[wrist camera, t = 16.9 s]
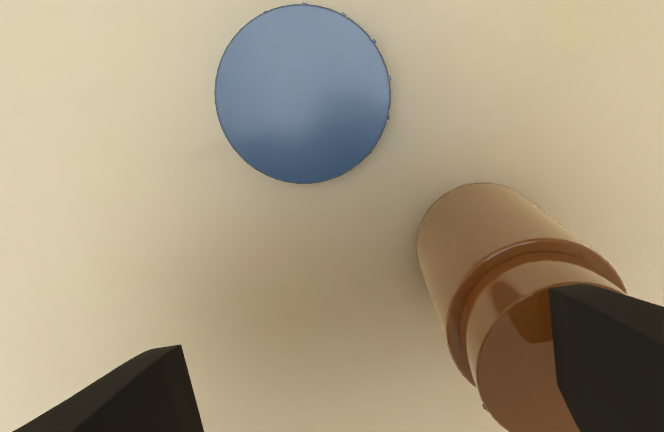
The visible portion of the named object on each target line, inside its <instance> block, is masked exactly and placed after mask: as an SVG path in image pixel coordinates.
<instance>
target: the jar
mask: <svg viewBox="0 0 664 432" xmlns="http://www.w3.org/2000/svg"><path fill="white" fill-rule="evenodd" d="M416 250H417V258H418V263H419V266H420V268H421V271H422V274H423V277H424V280H425V283H426V286H427V288H428V291H429V294H430V297H431V300H432V303H433V306H434V309H435V311H436V314H437V317H438V320H439V323H440V326H441V329H442V331H443V334H444V337H445V340H446V343H447V346H448V349H449V351H450V354H451V357H452V359H453V361H454V363H455V365H456V366H457V368H458V369H459V371H460V372H461V373H462V375H463V376H464V377H465V378H466V379H467V380H468V381H469V382H470V383H471V384H472V385H473V386H475V387H476V388H477V389H478V392H479V394H480V397H481V399H482V401H483V404H482V405H483V407H484V409H485V410H487V411H488V412H489V413H490V414H491V416H492V417H493V418H494V419H495V420H496V421H497V422H498V423H499V424H500V425H501V426H502V427H504V428H505V429H506V430H508V431H509V432H580V430H579V429H578V427H577V425H576V423H575V421H574V419H573V417H572V415H571V413H570V411H569V409H568V407H567V405H566V403H565V401H564V398H563V396H562V394H561V392H560V390H559V388H558V385H557V379H556V368H555V357H554V346H553V335H552V325H551V314H550V303H549V292H548V288H554V287H561V286H567V285H574V284H580V283H582V284H589V285H593V286H597V287H601V288H604V289H608V290H611V291H614V292H618V293H621V294H624V295H627V292H626V289H625V286H624V284H623V282H622V280H621V278H620V277H619V275H618V274H617V272H616V270H615V269H614V268H613V267H612V266H611V265H610V264H609V262H608V261H606V260H605V259H604V258H603V257H602V256H600V255H599V254H598V253H597V252H595V251H594V250H593V249H592V248H590V247H589V246H588V245H586V244H585V243H584V242H582V241H581V240H580V239H578V238H577V237H576V236H575V235H573V234H572V233H571V232H569V231H568V230H567V229H565V228H564V227H563V226H561V225H560V224H559V223H558V222H556V221H555V220H554V219H552V218H551V217H550V216H548V215H547V214H546V213H544V212H543V211H542V210H541V209H539V208H538V207H537V206H535V205H534V204H533V203H531V202H530V201H529V200H527V199H526V198H525V197H524V196H522V195H521V194H519V193H518V192H516V191H514V190H512V189H510V188H508V187H505V186H502V185H498V184H492V183H476V184H470V185H465V186H462V187H460V188H457V189H455V190H453V191H451V192H449V193H447V194H446V195H444V196H443V197H441V198H440V199H439V200H438V201H437V202H436V203H435V204H434V205H433V206H432V207H431V208H430V209H429V211H428V212H427V214H426V215H425V217H424V219H423V221H422V223H421V225H420V228H419V231H418V236H417V244H416ZM627 296H628V295H627Z"/></svg>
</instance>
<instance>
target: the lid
mask: <svg viewBox="0 0 664 432" xmlns="http://www.w3.org/2000/svg"><path fill="white" fill-rule="evenodd" d="M375 43H376V41H375V40H374V39H373V40H372V39H371V38H370V37H369V35H368V34H367V33H366V32H365V31H364V30H363V29H362V28H361V27H360V26H358V25H357V24H356V23H355V22H353V21H352V20H351V19H349V18H347V17H346V14H344V13H342V14H341V13H338V12H336V11H334V10H331V9H328V8H325V7H321V6H316V5H308V4H307V3H303V4H294V5H287V6H282V7H278V8H275V9H271V10H269V11H265V12H263V14H260V15H259V16H257V17H256V18H254V19H253V20H251V21H250V22H249V23H247V24H246V25H245V26H244V27H243V28H241V30H240V31H239V32H238V33H237V34H236V35H235V36H234V37H233V39H232V40H231V42H230V43H229V45H228V46H227V48H226V50H225V52H224V54H223V56H222V58H221V61H220V64H219V67H218V71H217V75H216V80H215V105H216V110H217V115H218V118H219V122H220V125H221V127H222V129H223V132H224V134H225V136H226V138H227V139H228V141H229V142H230V144H231V146H232V147H233V148H234V150H235V151H236V152H237V153H238V154H239V156H241V157H242V158H243V159H244V160H245V161H246V162H247V163H248V164H249V165H251V166H252V167H253V168H255V169H256V170H258V171H260V172H261V173H263V174H265V175H267V176H269V177H272V178H274V179H277V180H281V181H285V182H290V183H297V184H310V183H318V182H323V181H327V180H331V179H333V178H336V177H338V176H341V175H343V174H344V173H346V172H348V171H350V170H351V169H353V168H354V167H355V166H357V165H358V164H359V163H360V162H361V161H362V160H363V159H364V158H365V157H367V156H368V154H370V153H371V151H372V149H373V148H374V147H375V145H376V144H377V142H378V140H379V139H380V137H381V135H382V132H383V130H384V128H385V125H386V122H387V120H389V116H388V115H389V108H390V92H391V91H390V82H389V80H391V77H390V76H388V72H387V68H386V65H385V63H384V60H383V58H382V55H381V54H380V52H379V50H378V48H377V46H376V45H375Z"/></svg>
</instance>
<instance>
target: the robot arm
mask: <svg viewBox="0 0 664 432" xmlns="http://www.w3.org/2000/svg"><path fill="white" fill-rule="evenodd" d="M548 292H549V303H550V314H551V325H552V335H553V346H554V357H555V368H556V379H557V385H558V388H559V390H560V392H561V394H562V396H563V398H564V401H565V403H566V405H567V407H568V409H569V411H570V413H571V415H572V417H573V419H574V421H575V423H576V425H577V427H578V429H579V430H580V432H664V307H662V306H659V305H655V304H652V303H649V302H646V301H643V300H640V299H636V298H633V297H630V296H627V295H624V294H621V293H618V292H614V291H611V290H608V289H604V288H601V287H597V286H593V285H589V284H582V283H580V284H574V285H567V286H561V287H554V288H548ZM13 432H204V430H203V426H202V422H201V418H200V415H199V411H198V407H197V403H196V399H195V396H194V392H193V388H192V384H191V380H190V377H189V373H188V369H187V365H186V362H185V358H184V354H183V350H182V346H181V345H175V346H168V347H162V348H155V349H151V350H148V351H146V352H143V353H141V354H139V355H138V356H136V357H134V358H132V359H130V360H129V361H127V362H125V363H124V364H122V365H120V366H119V367H117V368H116V369H114V370H113V371H111V372H109V373H108V374H106V375H105V376H103V377H102V378H100V379H98V380H97V381H95V382H94V383H92V384H91V385H89V386H87V387H86V388H84V389H83V390H81V391H80V392H78V393H77V394H75V395H73V396H72V397H70V398H69V399H67V400H65V401H64V402H62V403H60V404H59V405H57V406H55V407H54V408H52V409H50V410H49V411H47V412H45V413H44V414H42V415H40V416H39V417H37V418H35V419H34V420H32V421H30V422H29V423H27V424H25V425H24V426H22V427H20V428H18V429H17V430H15V431H13Z"/></svg>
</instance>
